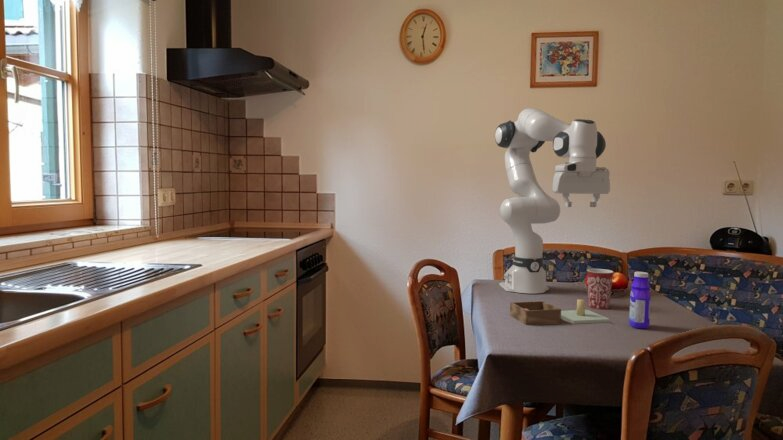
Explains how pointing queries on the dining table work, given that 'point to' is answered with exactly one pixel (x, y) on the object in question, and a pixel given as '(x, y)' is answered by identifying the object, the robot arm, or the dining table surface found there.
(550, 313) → the box
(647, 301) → the bottle
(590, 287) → the mug
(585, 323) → the mat
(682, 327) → the dining table surface
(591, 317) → the lid
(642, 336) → the dining table surface
